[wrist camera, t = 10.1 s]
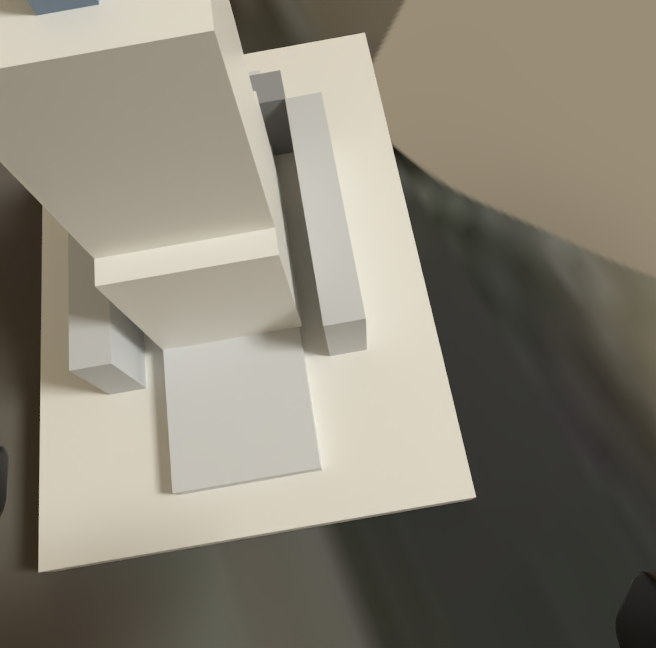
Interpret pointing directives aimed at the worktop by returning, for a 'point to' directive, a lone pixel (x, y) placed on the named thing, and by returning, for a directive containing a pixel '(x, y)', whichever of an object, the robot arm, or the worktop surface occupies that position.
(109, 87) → the block
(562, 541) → the worktop surface
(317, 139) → the rail mount
